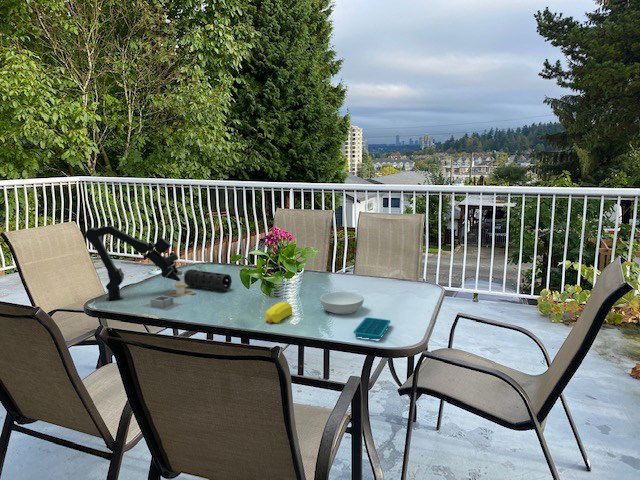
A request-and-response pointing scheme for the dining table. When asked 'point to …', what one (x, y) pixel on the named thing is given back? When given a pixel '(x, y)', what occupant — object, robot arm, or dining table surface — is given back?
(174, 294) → the pad
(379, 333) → the ice cube tray
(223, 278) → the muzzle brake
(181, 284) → the plug
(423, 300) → the dining table surface
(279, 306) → the yellow oblong piece
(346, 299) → the serving bowl
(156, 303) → the socket panel
